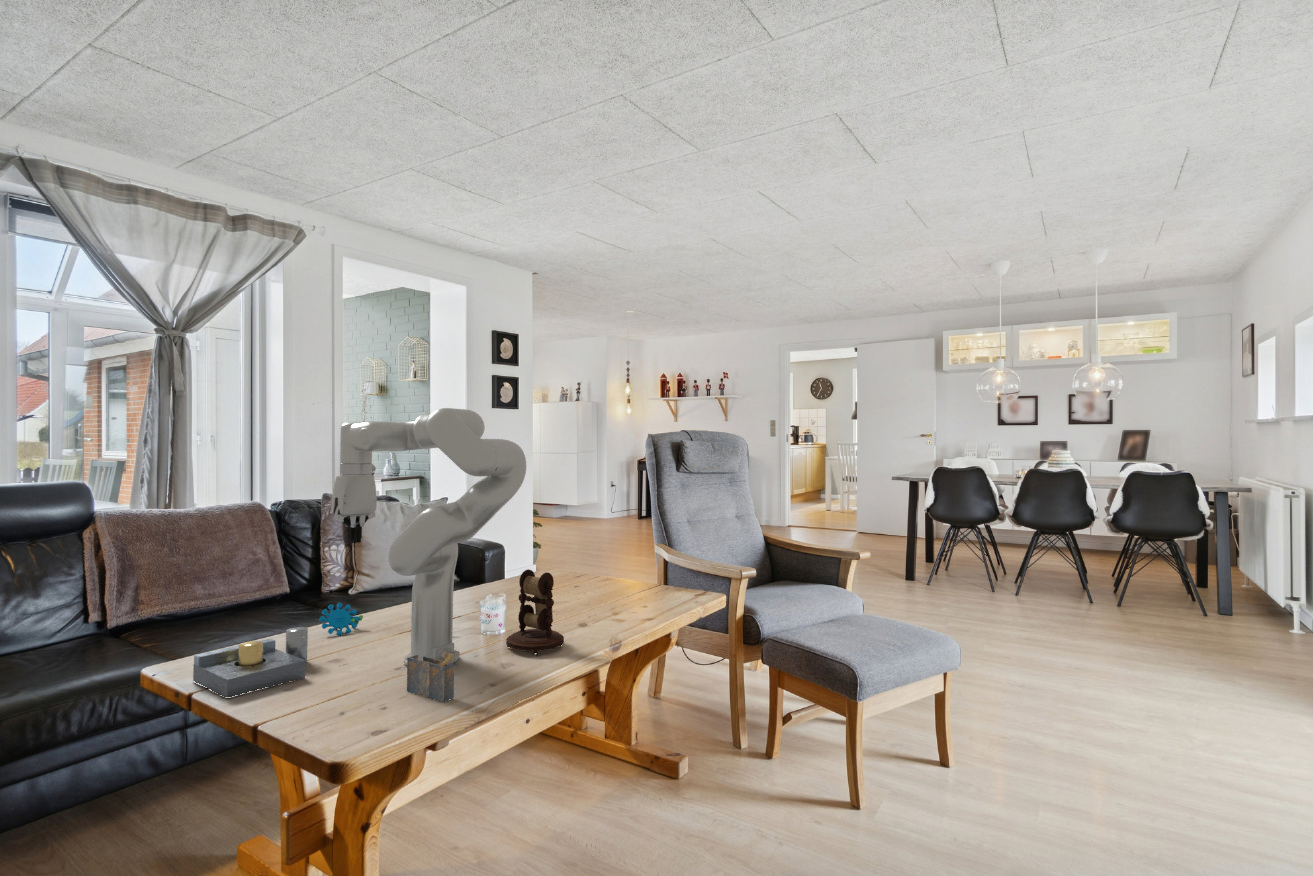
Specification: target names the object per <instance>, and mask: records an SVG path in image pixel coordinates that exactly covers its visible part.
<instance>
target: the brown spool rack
mask: <svg viewBox="0 0 1313 876" xmlns="http://www.w3.org/2000/svg"><path fill="white" fill-rule="evenodd" d="M518 582H519V584H518V585H519V587H520V589H519V592H520V594H519V595H518V600H519V603H520V607H519V611H518V617H517V618H518V623H519V626H518V627H519V631H515V632H513V633H512V634H510V635H508V636H507V637H506V640H505V641H506V643H505V645H506V646H507V647H510V649H513V650H517V651H526V652H533V653H532V654H534V653H537V654H538V652H539V651H549V650H552V649H553V650H554V649H556V648H559V647H560V646H561V645H562V644H563V645H564V643H565V636H564V635H563V634H562V633H559V631H556V630H553V629H552V627H553V625H552V624H553V622H554V617H553V606H554V604H555V600H554V599H553V590H554V588H553V587H554V586H555V585H554V584H555V582H554V577H553V575H552V573H550V572H543V573H542V574H541V575H540V576H539V577H538V576H536V575H535V572H534V570H532V569H525V570H524V571H522V573H521V574H520V577H519V581H518ZM526 602H531V603H533V604H534V607H535V610H534V607H533V606H532V604H525V603H526ZM526 627H529V628H527V629H526Z"/></svg>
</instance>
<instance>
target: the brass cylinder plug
mask: <svg viewBox="0 0 1313 876" xmlns="http://www.w3.org/2000/svg"><path fill="white" fill-rule="evenodd" d="M261 641H262V640H253V641H252V640H251V641H245V642H241V643H240V644H239V645H238V646H239V657H238V666H241V667H246V666H254V665H258V664H261V663H263V642H261Z"/></svg>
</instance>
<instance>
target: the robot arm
mask: <svg viewBox="0 0 1313 876" xmlns="http://www.w3.org/2000/svg"><path fill="white" fill-rule="evenodd" d="M484 432H485V422H484V420H483V418H482V416H481V415H480V414H479V413H477V412H475V411H473V410H471V409H464V408H452V407H445V408H440V409H436V410H435V411H433V412H432V413H425V414H420V415H419V416H418V417H417V418H416V419H415V420H414V421H405V422H402V421H401V422H395V421H393V422H392V421H365V422H359V421H358V422H357V421H355V422H354V421H352V422H351V421H350V422H344V423H343V424H341V426H340V443H339V444H340V446H339V451H340V452H339V475H336V477H335V481H334V484H333V488H332V495H331V496H332V497H331V498H332V499H331V513H332V515H333V520H334V521H337V522H342V523H343V524H344V525H345V527H347V529H346V531H347V532H346V533H347V534H346V535H347V536H346V537H347V538H346V539H347V541H348V543H352V544H360V543H361V542H362V538H363V527H364V526H365V524H366V522H367V521H368V520H370V519H373V518H375V517H376V511H377V507H378V506H377V502H378V501H377V486H376V485H377V484H376V481H375V476H374V475H372V474H373V471H376V469H377V467H376V466H375V465H373V453H374V452H378V453H379V452H380V453H381V452H406V451H417V450H429V449H439V450H440V451H441V452H442V453H443V454H444V455H446V457H447V458H448V459H449V460H450V461H452V462H453V464H455V465H456V466H457V467H458V468H459V469H460V470H462V472H464V473H465V474H467V475H469V476H473V477H483V478H482V479H480V480H479V481H477V482H476V483H474V484H473V485H472V486H470V488H469V489H468V490H467V491H466V492H465V493H464V494H462V495H461V497H460V498H459V499H457V500H456V501H453V502H449V503H443V504H441V503H440V504H436V505H433V506H430V507H428V508H426V509H424V510H423V511H422V512H420V513H419V514H418V515H417V516H416V517H415V518H414V519H413V520H412V521H411V522H410V523H409V524H408V525H407V526H406V527H405V528H404V530H402V531H401V533H399V535H398V536H396V538H395V539H394V540H393V542H392V544H391V545H390V547H389V551H388V554H387V555H388V563H389V566H390V568H391V569H392V571H394V572H395V574H398V575H400V576H406V577H407V576H409V577H411V576H414V579H413V583H412V588H411V624H410V625H411V626H410V627H411V629H410V653H408V654H406V655H405V656H404V657H403V664H404V665H405V666H406V667H407V657H411V656H414V655H417V654H418V660H422V661H423V656H425V657H429V658H433V659H437V660H441V661H444V659H445V654H446V653H447V652H449V653H448V654H452V655H453V654H455V655H454V658H453V659H452V660H451V661H450V662H448V663H447V666H448V665H450V664H455V663H456V662H457V661H458V660H459V657H460V651H459V650H456V649H455V642H453V629H454V628H453V621H454V620H453V619H454V618H453V617H454V615H453V614H454V581H455V571H456V566H457V562H458V557H459V545H458V544H460V543H464V542H466V541H469V540H471V539H472V538H473V537H475V535H477V533H478V532H479V531H480V530H481V529H483V527H485V526H486V525H487V523H488V522H489V521H491V519H492V518H493V517H495V515H496V514H498V512H499V511H500V510H501V509H502V508H503V507H505V505H506V504H507V503H509V501H510V500H512V498H513V497H514V496H515V495H516V494H517V493H518V491H519V490H520V488H521V487H522V486H523V485H522V484H523V483H524V481H525V479H526V472H527V460H526V459H527V458H526V454H525V453H524V450H523V449H522V447H521V446H520V445H519V444H517V443H516V442H514V441H511V440H508V439H502V438H482V437H483V435H484V434H485V433H484Z"/></svg>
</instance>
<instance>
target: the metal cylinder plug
mask: <svg viewBox="0 0 1313 876" xmlns="http://www.w3.org/2000/svg"><path fill="white" fill-rule="evenodd" d="M308 635H309V629H308V627H307V626H306V627H304V626H299V627H297V626H296V627H291V628H287V629H286V630H285V653H288V654H290V655H293V656H296V657H298V658H301V659H304V660H305V665H307V663H308V647H309V646H308V643H309V642H308V641H309V639H308Z"/></svg>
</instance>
